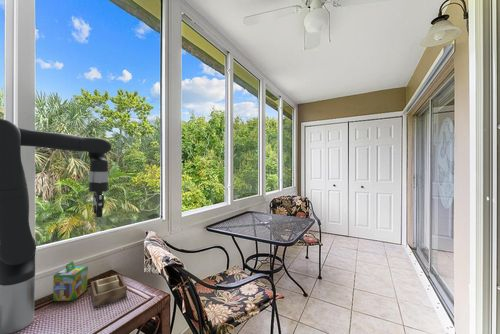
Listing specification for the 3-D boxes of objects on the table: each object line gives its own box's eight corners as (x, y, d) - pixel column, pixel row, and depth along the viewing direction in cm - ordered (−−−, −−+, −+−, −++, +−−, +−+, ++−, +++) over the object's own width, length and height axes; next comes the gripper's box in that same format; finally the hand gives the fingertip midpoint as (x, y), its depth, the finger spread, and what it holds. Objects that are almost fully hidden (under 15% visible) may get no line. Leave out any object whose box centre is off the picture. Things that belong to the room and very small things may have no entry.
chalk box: (74, 301, 95) (75, 267, 95) (51, 301, 94) (52, 267, 94) (88, 289, 104) (89, 258, 104) (67, 289, 104) (68, 258, 104)
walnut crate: (94, 307, 91) (94, 296, 91) (90, 292, 102) (90, 281, 102) (126, 297, 99) (126, 286, 99) (119, 283, 110) (120, 274, 110)
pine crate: (97, 299, 95) (97, 286, 95) (95, 293, 100) (96, 280, 100) (118, 293, 101) (118, 280, 101) (115, 287, 105) (116, 275, 105)
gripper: (87, 180, 106) (86, 213, 106) (90, 182, 95) (89, 219, 95) (105, 179, 110) (104, 211, 111) (110, 182, 100) (109, 217, 100)
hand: (97, 215), depth 103 cm, fingers open, 8 cm apart
